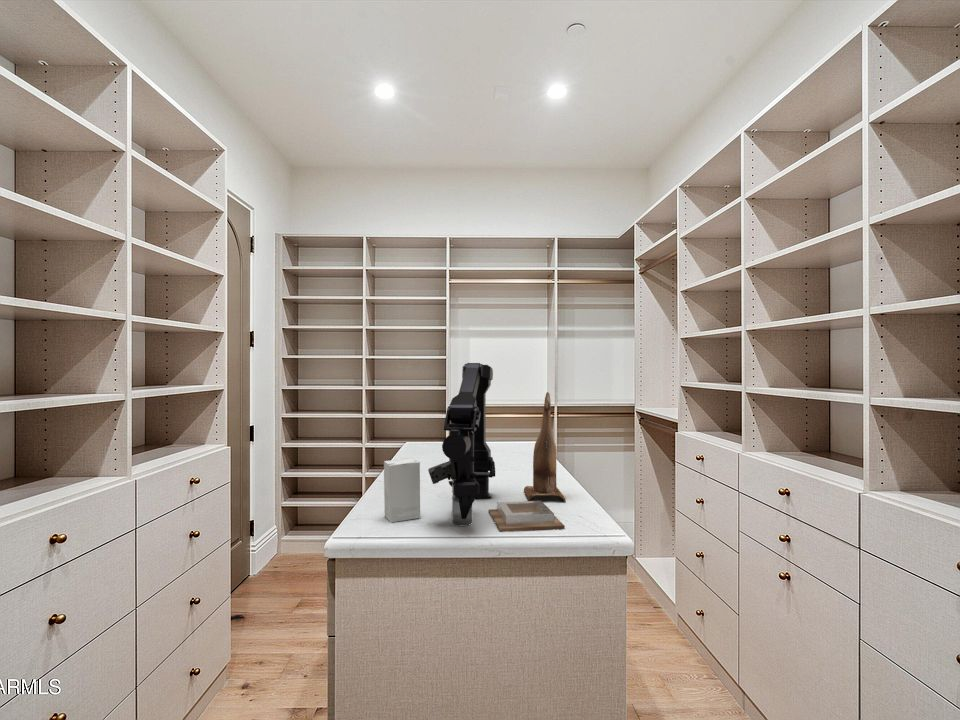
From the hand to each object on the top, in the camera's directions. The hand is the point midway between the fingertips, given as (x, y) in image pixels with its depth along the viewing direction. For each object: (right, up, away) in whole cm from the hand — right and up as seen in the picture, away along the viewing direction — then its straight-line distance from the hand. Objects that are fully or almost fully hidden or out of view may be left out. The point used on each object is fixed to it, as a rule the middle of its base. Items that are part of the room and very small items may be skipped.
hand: (462, 514), depth 124 cm
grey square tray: (+16, -2, +2) cm, 16 cm away
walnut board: (+16, -2, +2) cm, 16 cm away
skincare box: (-16, -2, +4) cm, 16 cm away
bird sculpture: (+24, -3, +25) cm, 34 cm away
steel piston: (0, -2, 0) cm, 2 cm away
